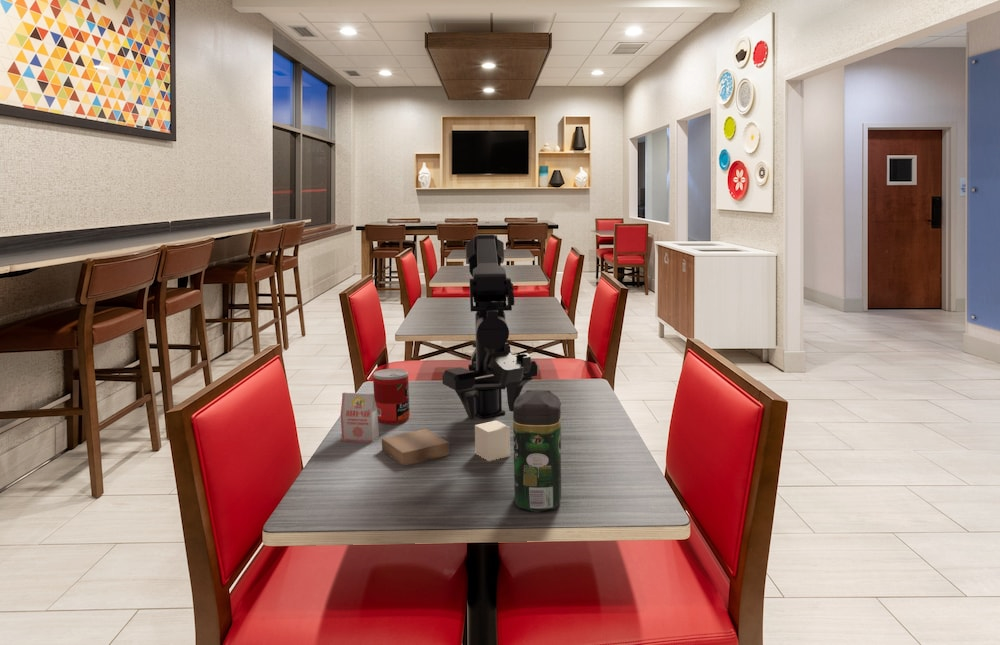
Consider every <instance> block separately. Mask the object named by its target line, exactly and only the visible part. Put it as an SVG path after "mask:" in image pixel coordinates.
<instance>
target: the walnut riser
mask: <svg viewBox="0 0 1000 645" xmlns="http://www.w3.org/2000/svg"><path fill="white" fill-rule="evenodd" d="M381 449H382V450H381V451H383V452H384V453H385V454H387V455H388V456H389V457H390V458H392V459H393V460H395V461H396V462H397V463H399V465H401V466H402V467H403V466H408V465H412V464H417V463H420V462H426V461H429V460H434V459H437V458H438V459H439V458H441V457H445V456H449V455H450V442H449V441H447V440H445V439H444V438H442V437H441V436H439V435H437V434H436V433H434V432H433V431H431V430H429V429H428V428H424V429H418V430H413V431H409V432H404V433H400V434H394V435H391V436H385V437H382V438H381Z"/></svg>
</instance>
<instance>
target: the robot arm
mask: <svg viewBox="0 0 1000 645" xmlns="http://www.w3.org/2000/svg"><path fill="white" fill-rule="evenodd" d="M504 261H505V245H504V242H503V241H501V240H500V239H498V235H496V234H494V233H489V234H488V233H485V234H484V233H483V234H482V233H481V234H480V233H479V234H476V235H473V239H471V240H469V241H468V242H465V264H466V265H468V270H469V274H470V275H471V277H472V278H469V303H470V306H469V307H470V312H475V315H474V316H475V318H474V320H475V321H474V322H475V340H474V341H472V342H471V343H472V344H471V345H472V346H471V347H472V348H475V349H474V350H473V352H472V354H471V356H470V357H471V358H470V360H471V364H468V369H467V368H464V367H455V368H450V369H449V368H447V369H445V370H444V372H443V373H442V378H441V379H442V385H444V386H446V387H449V389H451V390H454V391H455V393H456V395H457V396H458V398H459V400H460V402H461V403H462V406H463V408H464V410H465V412H466V414H467V417H468V418H469V420H471V421H475V416H477V417H479V418H481V419H485V418H490V417H495V416H496V417H497V416H500V415H505V414H506V411H505V410H503V405H502V404H503V403H502V402H503V401H502V398H503V397H502V390H506V396H507V406H508V410H509V411H510V412H513V406H514V402H515V400H516V398H517V397H518V396H520V395H521V392H522V390H523V387H524V386H525V385H526V384H528V382H530V381H532V380H533V377H535V376H536V377H537V376H538V375H539V364H537V362H536V361H535V360H532V359H531V357H532V356H531V355H530V354H529V353H528V352H524V353H519V354H512V352H511V346H510V343H509V342H508V340H509V336H510V330H509V327H508V324H507V321H506V311H507V312H508V311H510V312H511V311H513V310H512V309H513V308H512V307H513V306H515V292H514V291H515V290H514V283H513V282H512V279H511V277H507V272H506V268H504V267H502V266H501V265H502V264H504Z"/></svg>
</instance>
